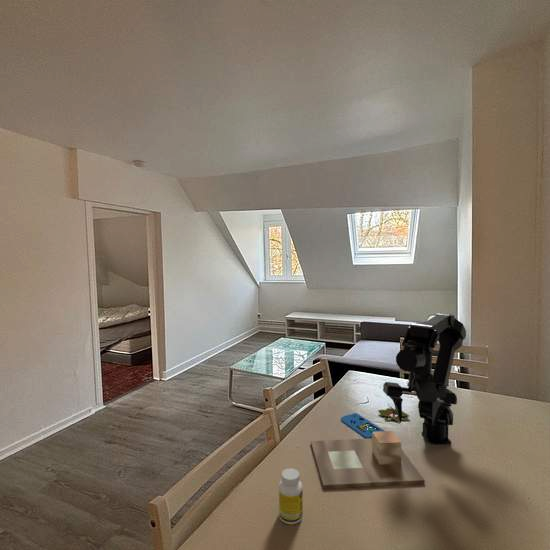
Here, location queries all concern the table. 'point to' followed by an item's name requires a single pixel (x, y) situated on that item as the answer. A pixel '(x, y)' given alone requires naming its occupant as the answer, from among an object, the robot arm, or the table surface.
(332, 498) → the table surface
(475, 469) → the table surface
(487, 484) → the table surface
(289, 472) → the supplement bottle
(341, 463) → the walnut board
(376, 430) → the handheld gaming device
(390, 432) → the beech block
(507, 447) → the table surface
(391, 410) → the lily flower
